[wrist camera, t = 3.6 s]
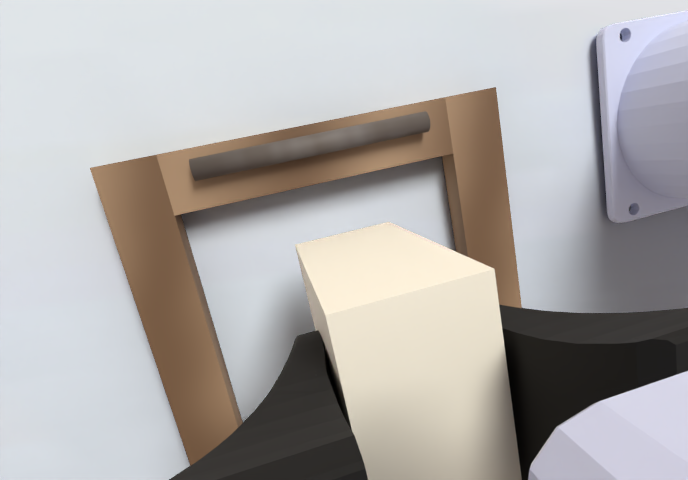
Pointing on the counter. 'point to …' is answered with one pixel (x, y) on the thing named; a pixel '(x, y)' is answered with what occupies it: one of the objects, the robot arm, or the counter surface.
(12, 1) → the counter surface
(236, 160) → the wooden picture frame
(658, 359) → the robot arm
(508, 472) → the cream upright block
